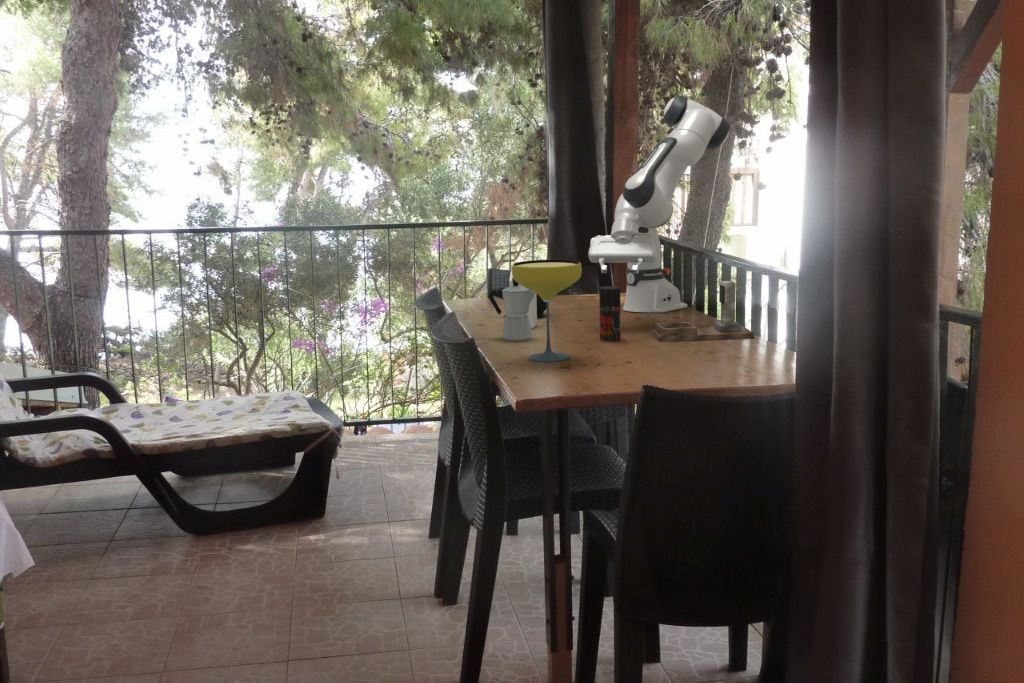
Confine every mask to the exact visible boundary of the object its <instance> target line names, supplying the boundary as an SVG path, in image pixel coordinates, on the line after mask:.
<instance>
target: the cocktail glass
mask: <svg viewBox="0 0 1024 683" xmlns="http://www.w3.org/2000/svg"><path fill="white" fill-rule="evenodd" d="M582 270H583V269H582V263H581V262H580V261H578V260H573V259H570V260H569V259H535V260H533V259H532V260H525V261H524V260H523V261H517V262H514V263H512V276H513V279H514V280H515V281H516V282H517V283H519V284H520V285H522V286H523V287H525V288H527V289H529V290H531V291H533V292H535V293H537V294H538V295H539V296H540V297H541V298H542V300H543V301H544V302H546V310H545V311H546V345H545V346H546V348H545V351H544V352H539V353H533V354H531V355H529V356H528V357H527V358H528V360H530V361H533V362H538V363H556V362H562V361H566V360H568V359H570V355H568V354H566V353H561V352H554V351H553V350H552V347H551V338H550V308H549V307H550V303H551V302H552V301H553V299H554V298H555V297H556V296H557V294H559V293H560V292H561V291H563V290H566V289H567V288H569V287H570V286H572V285H574V284H575V283H576V282H578V281H579V280H580V278H581V277H582Z"/></svg>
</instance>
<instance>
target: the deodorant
mask: <svg viewBox="0 0 1024 683" xmlns="http://www.w3.org/2000/svg"><path fill="white" fill-rule="evenodd" d="M598 289H599V293H598V294H599V295H598V297H599V341H600V342H601V341H602V342H607V341H611V342H619V341H621V340H622V338H621V337H622V336H621V334H622V331H621V325H622V323H621V315H622V314H621V287H620V286H615V285H614V286H613V285H610V286H608V285H607V286H600V287H599V288H598ZM611 342H610V343H611Z"/></svg>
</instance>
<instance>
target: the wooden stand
mask: <svg viewBox="0 0 1024 683" xmlns="http://www.w3.org/2000/svg"><path fill="white" fill-rule="evenodd" d="M736 283H737V282H735V281H733V280H722V281H721V284H719V286H718V287H719V288H718V289H719V292H718V296H719V299H718V300H719V301H718V302H719V303H720V321H714V327H698V326H696V325H695V324H693V323H692V322H691V321H677V322H655V326H654V328H655V329H651V336H652V337H654V338H655V340H656V341H658V342H659V343H660V342H661V343H663V342H688V341H693V342H694V341H714V340H743V339H744V340H745V339H746V340H747V339H754V338H755V333H754V331H751V329H748V328H747V327H745V326H742V324H741V323H739V322H737V321H736Z"/></svg>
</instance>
